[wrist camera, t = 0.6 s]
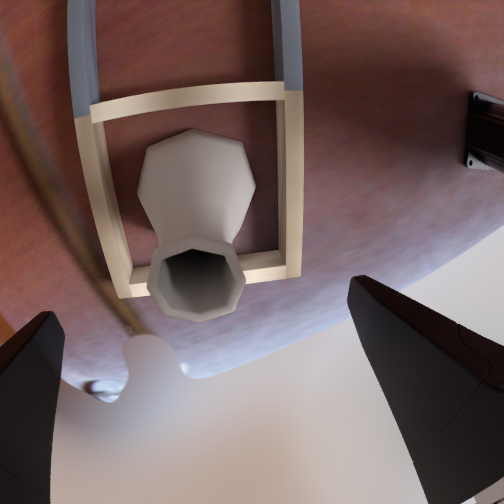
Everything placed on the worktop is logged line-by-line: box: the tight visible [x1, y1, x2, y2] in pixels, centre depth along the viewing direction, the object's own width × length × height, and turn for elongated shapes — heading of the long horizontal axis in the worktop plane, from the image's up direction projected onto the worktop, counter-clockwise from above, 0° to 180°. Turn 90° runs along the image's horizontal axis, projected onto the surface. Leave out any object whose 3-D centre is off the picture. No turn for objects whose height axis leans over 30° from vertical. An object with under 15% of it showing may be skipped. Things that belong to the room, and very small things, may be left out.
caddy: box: [67, 0, 304, 299], centre depth 14 cm, size 12×23×2 cm, turn 3°
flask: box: [137, 128, 256, 322], centre depth 14 cm, size 7×7×10 cm
